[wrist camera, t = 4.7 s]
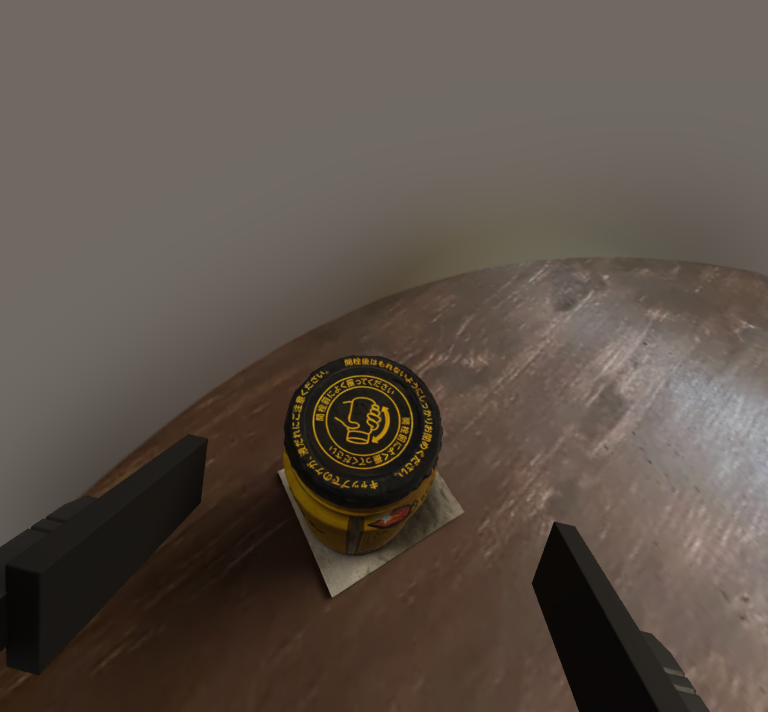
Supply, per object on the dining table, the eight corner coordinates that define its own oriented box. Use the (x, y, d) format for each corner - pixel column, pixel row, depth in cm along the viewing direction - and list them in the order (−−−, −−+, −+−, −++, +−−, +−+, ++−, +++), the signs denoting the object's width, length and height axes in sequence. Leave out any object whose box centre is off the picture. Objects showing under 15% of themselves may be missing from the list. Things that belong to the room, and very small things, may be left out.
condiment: (277, 472, 23) (226, 375, 13) (399, 411, 26) (436, 291, 16) (332, 597, 20) (320, 602, 10) (462, 513, 23) (560, 447, 13)
